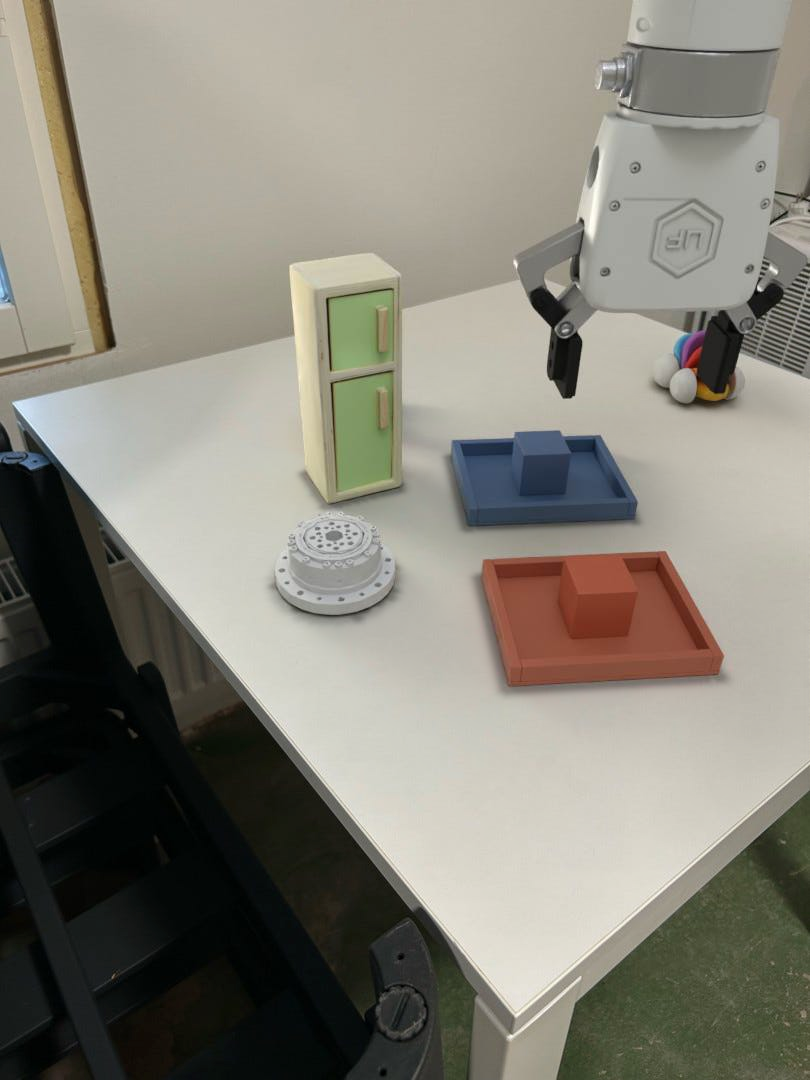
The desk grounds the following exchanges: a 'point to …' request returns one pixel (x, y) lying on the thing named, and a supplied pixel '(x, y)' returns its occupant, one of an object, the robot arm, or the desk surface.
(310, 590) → the mechanical component
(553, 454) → the blue block
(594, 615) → the terracotta block
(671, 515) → the desk surface
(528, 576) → the terracotta tray
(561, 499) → the blue tray
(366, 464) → the toy refrigerator
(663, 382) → the rainbow petal toy
